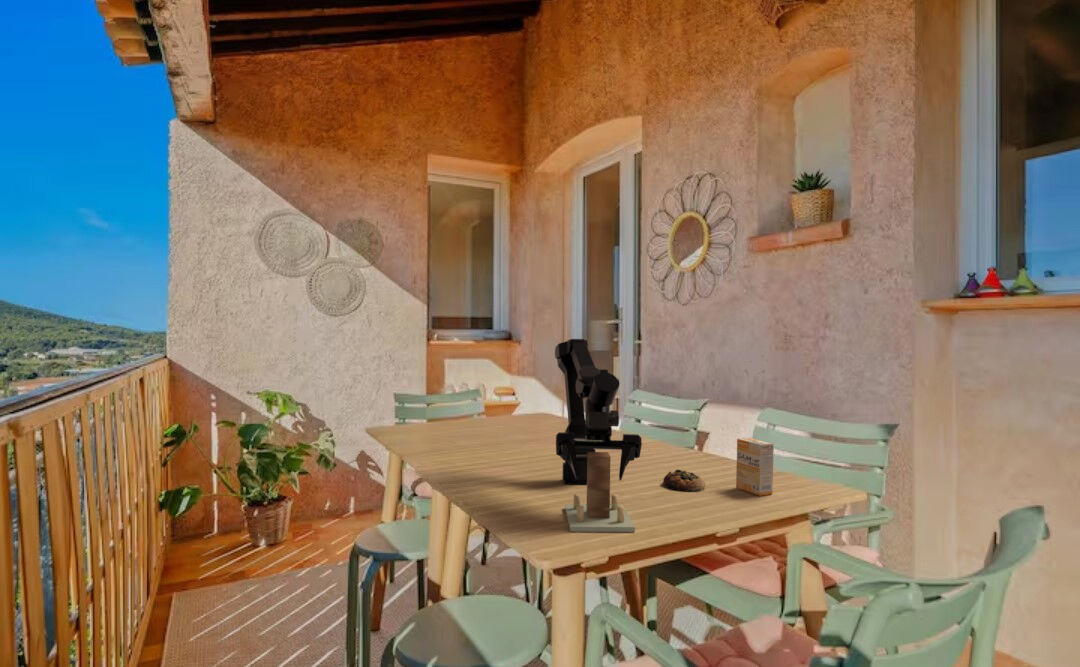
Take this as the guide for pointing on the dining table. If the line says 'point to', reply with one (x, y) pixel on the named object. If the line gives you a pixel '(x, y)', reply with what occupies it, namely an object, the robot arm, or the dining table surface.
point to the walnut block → (598, 485)
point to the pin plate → (584, 524)
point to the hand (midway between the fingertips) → (598, 478)
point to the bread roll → (683, 481)
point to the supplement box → (754, 466)
